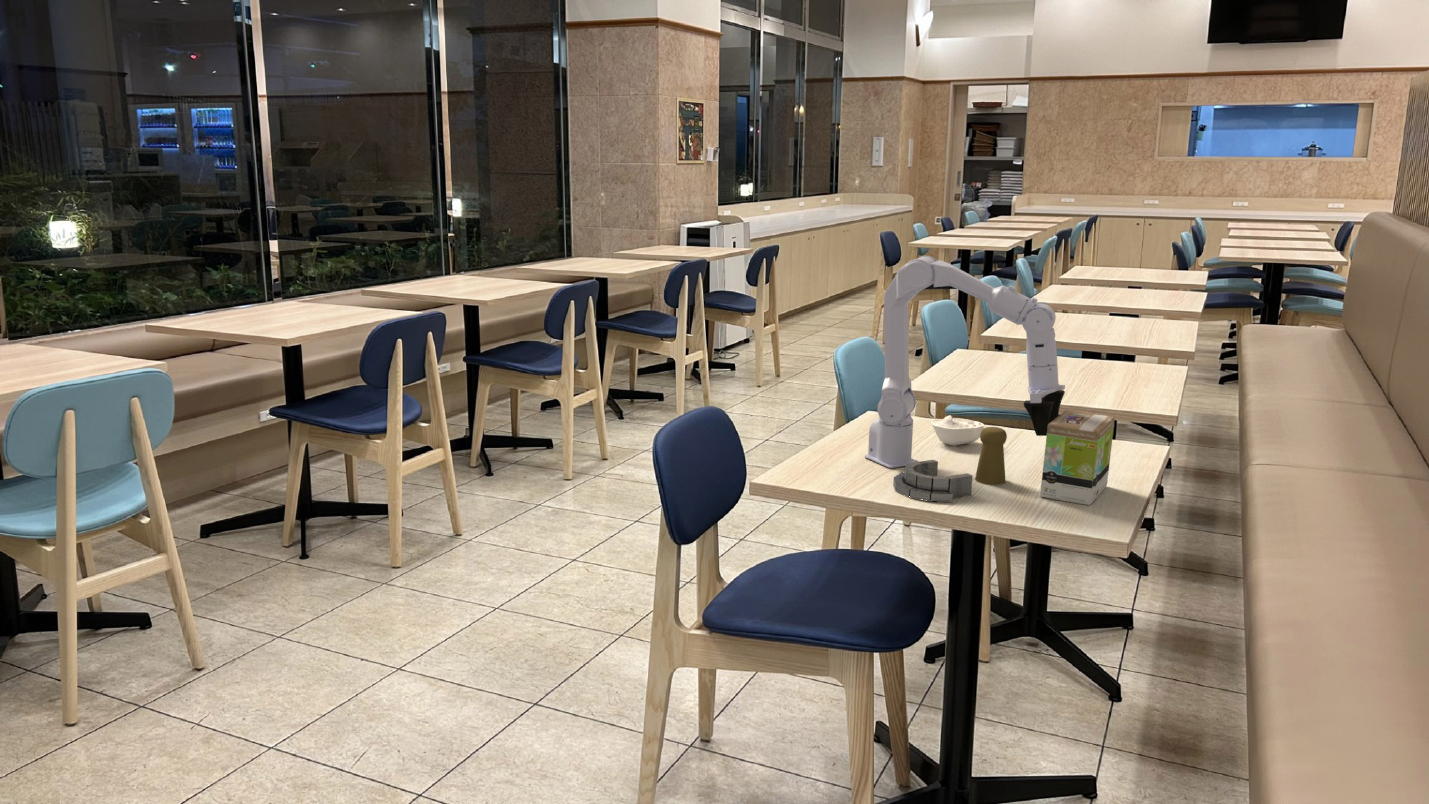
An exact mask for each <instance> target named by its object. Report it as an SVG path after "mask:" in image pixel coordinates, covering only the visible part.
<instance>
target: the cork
mask: <svg viewBox="0 0 1429 804" xmlns="http://www.w3.org/2000/svg"><path fill="white" fill-rule="evenodd" d="M1007 438H1008V435H1007V431H1006V430H1005V429H1003V428H1002V427H998V426H986V427H984V429H982V431H981V433H980V438H979V439H980V441H981V443H982V444H981V449H980V453H979V458H978V462H977V463H978V464H977V468H976V473H975V477H974V480H975V481H976V482H977V483H979V484H984V485H991V486H998V485H1003V484H1005V483H1006V466H1005V452H1004V451H1005V449H1004V448H1005V447H1004V445H1005V443H1006V441H1007Z"/></svg>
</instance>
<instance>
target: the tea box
mask: <svg viewBox="0 0 1429 804" xmlns="http://www.w3.org/2000/svg"><path fill="white" fill-rule="evenodd" d="M1114 429H1115V417H1114V416H1110V415H1104V414H1096V413H1095V414H1094V413H1089V412H1081V411H1080V412H1079V411H1074V410H1072V411H1071V410H1064V411H1063V412H1062V413H1060V414H1058V417H1057V418H1056V419H1054V420H1053V421H1052V422H1050V423H1049V424H1048V428H1047V436H1045V438H1046V440H1045V447H1044V455H1043V456H1044V457H1043V465H1042V476H1041V483H1040V484H1041V485H1040V493H1039V496H1040V497H1042V498H1047V499H1049V500H1050V499H1051V500H1056V501H1057V500H1058V501H1062V502H1068V503H1074V504H1078V505H1079V504H1080V505H1086V506H1091V505H1092V503H1093V502H1095V500H1096V499H1097V498H1098V497H1099V495H1100V494H1101V493H1103V490H1104V489H1106V487H1107V485H1108V481H1109V480H1108V479H1109V473H1110V472H1109V470H1110V463H1111V453H1112V447H1113V437H1114Z"/></svg>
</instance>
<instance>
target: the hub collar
mask: <svg viewBox="0 0 1429 804" xmlns="http://www.w3.org/2000/svg"><path fill="white" fill-rule="evenodd" d="M903 470H904V472H903V471H902V472H900V473H898V474H897V475H894V476H893V481H892V482H893V483H892V484H893V488H894V491H895V493H898V494H900V495H902V494H903V495H902V496H904V495H905V496H904V497H906V496H908V497H909V496H910V497H911V498H910V497H909V498H910V499H912V498H917V499H916V500H918V499H923V500H927V501H926V502H928V501H930V500H931V501H937V502H936V503H953V499H957V498H958V499H959V498H962V497H969V496H972V490H973V474H970V473H967V472H966V473H961V474H953V475H948V476H938V470H939V461H937V460H935V459H928V460H923V461H919V462H914V463H910V464H908V465H907V466H904V469H903ZM908 497H907V498H908ZM923 500H922V501H923ZM931 501H930V502H931Z"/></svg>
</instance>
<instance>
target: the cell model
mask: <svg viewBox="0 0 1429 804" xmlns="http://www.w3.org/2000/svg"><path fill="white" fill-rule="evenodd" d="M930 424H931V426H932V427H933V430H934V432H935V434H936V436H937V437H938V439H939V441H940V442H942V443H943V444H945V443H946V445H948V446H957V445H967V444H973V443H974V442H976V441H978V440H979V439H980V433H981V431H982V429H984V428H985V424H984V423H982V422H980V421H978V420H977V421H976V420H972V419H966V418H960V417H952V415H947V416H945V417H944V418H941V419H940V418H939V419H935V420H932V421H931V422H930Z"/></svg>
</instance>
